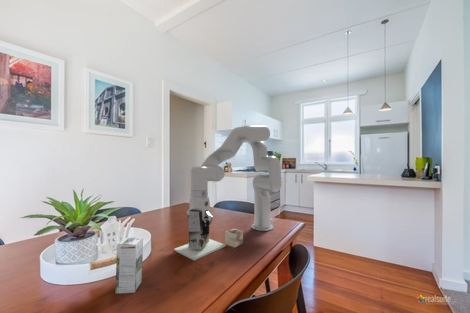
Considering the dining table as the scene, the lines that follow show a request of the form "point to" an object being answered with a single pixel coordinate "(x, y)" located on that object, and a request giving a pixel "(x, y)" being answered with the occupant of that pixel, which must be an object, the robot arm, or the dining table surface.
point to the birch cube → (234, 237)
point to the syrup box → (129, 265)
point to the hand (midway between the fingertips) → (199, 232)
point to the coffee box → (196, 230)
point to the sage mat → (199, 250)
